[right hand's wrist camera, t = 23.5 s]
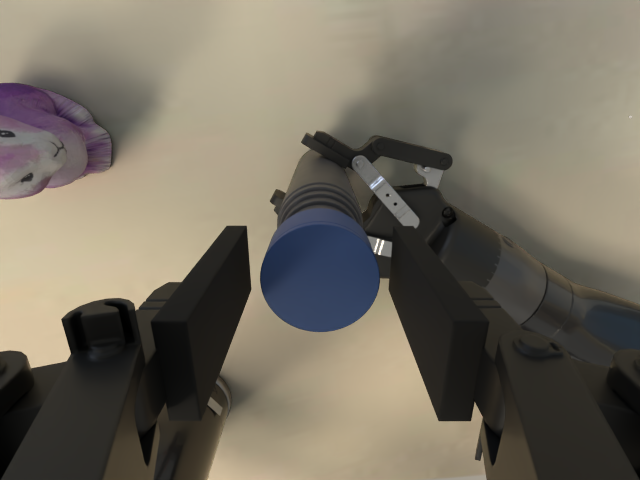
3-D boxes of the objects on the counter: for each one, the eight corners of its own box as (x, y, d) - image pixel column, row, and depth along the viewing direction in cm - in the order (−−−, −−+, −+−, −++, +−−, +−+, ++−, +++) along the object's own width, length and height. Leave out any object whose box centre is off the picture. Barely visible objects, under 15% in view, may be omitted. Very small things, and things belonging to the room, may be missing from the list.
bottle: (328, 138, 32) (343, 190, 12) (351, 180, 34) (401, 291, 13) (287, 163, 33) (235, 252, 13) (312, 203, 34) (300, 342, 14)
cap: (375, 208, 13) (384, 225, 12) (368, 304, 15) (375, 333, 13) (266, 206, 13) (257, 223, 11) (269, 302, 15) (262, 331, 13)
